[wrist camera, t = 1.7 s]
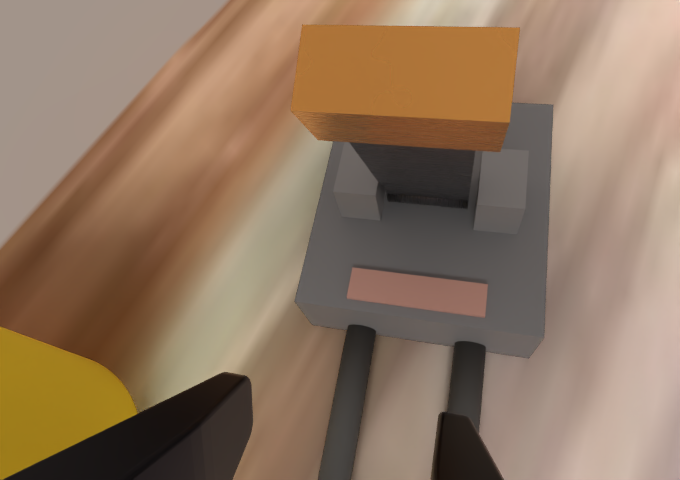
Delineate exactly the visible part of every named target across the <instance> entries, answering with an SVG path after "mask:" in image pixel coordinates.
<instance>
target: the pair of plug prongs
mask: <svg viewBox="0 0 680 480" xmlns="http://www.w3.org/2000/svg"><path fill="white" fill-rule="evenodd" d="M375 336H376V330H374V329H373V328H370V327H367V326H363V325H355V324H353V325H348V328H347V333H346V338H345V343H344V348H343V353H342V359H341V364H340V369H339V374H338V379H337V384H336V389H335V394H334V400H333V405H332V410H331V415H330V420H329V425H328V430H327V435H326V441H325V446H324V451H323V456H322V461H321V466H320V471H319V476H318V480H351V475H352V469H353V464H354V458H355V452H356V446H357V440H358V434H359V429H360V423H361V417H362V411H363V405H364V400H365V394H366V388H367V382H368V376H369V371H370V365H371V359H372V353H373V347H374V341H375ZM485 353H486V347H485V346H484V345H482V344H479V343H475V342H470V341H458V342H455V347H454V356H453V365H452V374H451V384H450V393H449V402H448V411H447V412H448V413H454V414H459V415H465V416H468V417H469V418H470V419H471V421H472V422H473V424H474V426H475V428H476V430H477V431H478V433H479V424H480V412H481V400H482V388H483V377H484V365H485Z"/></svg>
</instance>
